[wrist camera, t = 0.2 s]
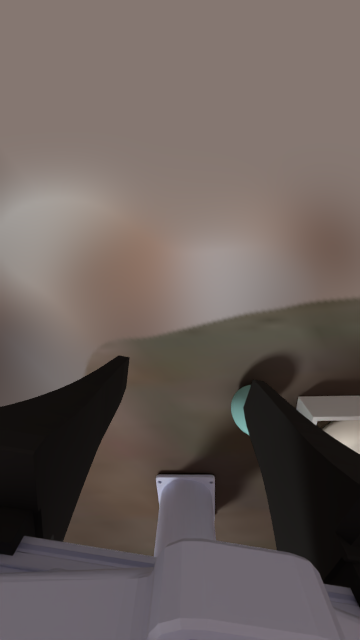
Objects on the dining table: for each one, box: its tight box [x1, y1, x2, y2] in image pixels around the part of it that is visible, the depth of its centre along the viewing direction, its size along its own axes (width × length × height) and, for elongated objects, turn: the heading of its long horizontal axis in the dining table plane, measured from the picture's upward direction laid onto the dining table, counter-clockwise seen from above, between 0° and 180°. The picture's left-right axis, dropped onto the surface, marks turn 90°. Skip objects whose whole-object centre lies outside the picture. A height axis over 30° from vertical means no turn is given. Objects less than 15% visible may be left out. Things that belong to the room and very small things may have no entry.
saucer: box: [322, 420, 360, 454], centre depth 25 cm, size 7×7×1 cm
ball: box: [231, 385, 251, 435], centre depth 22 cm, size 5×5×5 cm
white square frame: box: [296, 396, 360, 425], centre depth 24 cm, size 13×13×3 cm
